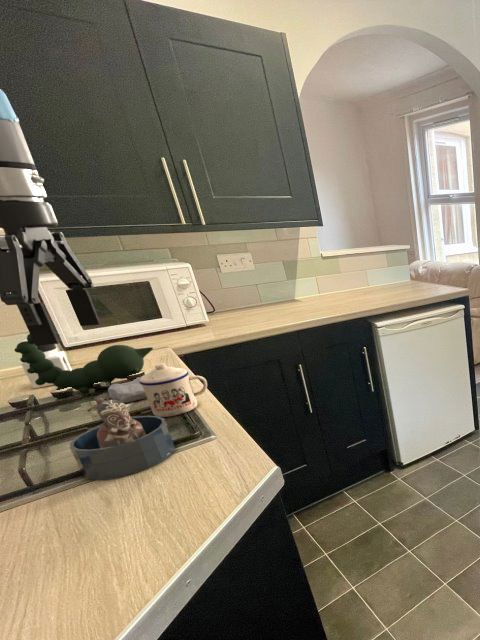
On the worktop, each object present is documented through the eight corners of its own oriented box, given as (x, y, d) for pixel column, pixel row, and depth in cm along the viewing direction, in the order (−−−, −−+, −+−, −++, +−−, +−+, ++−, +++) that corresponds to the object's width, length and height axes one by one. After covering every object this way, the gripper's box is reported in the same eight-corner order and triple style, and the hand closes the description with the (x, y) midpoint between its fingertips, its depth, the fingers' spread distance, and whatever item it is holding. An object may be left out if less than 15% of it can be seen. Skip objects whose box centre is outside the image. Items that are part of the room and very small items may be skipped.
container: (74, 375, 127) (55, 333, 122) (71, 381, 121) (51, 338, 116) (38, 381, 122) (17, 338, 117) (33, 389, 116) (10, 344, 112)
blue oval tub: (67, 487, 72) (52, 457, 70) (104, 450, 84) (92, 423, 82) (161, 469, 77) (150, 441, 75) (183, 436, 89) (174, 410, 86)
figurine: (114, 471, 76) (87, 412, 71) (99, 461, 79) (72, 403, 75) (160, 453, 81) (138, 397, 77) (145, 444, 85) (122, 390, 80)
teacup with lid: (152, 421, 95) (133, 374, 91) (152, 409, 102) (134, 364, 98) (214, 406, 102) (200, 361, 98) (210, 395, 109) (197, 353, 104)
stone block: (180, 395, 114) (161, 382, 118) (175, 380, 112) (156, 367, 116) (127, 413, 105) (108, 399, 109) (120, 397, 102) (102, 383, 106)
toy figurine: (46, 409, 107) (165, 378, 120) (1, 340, 99) (133, 314, 112) (55, 398, 114) (166, 369, 127) (13, 332, 106) (136, 309, 119)
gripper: (-10, 197, 55) (58, 351, 63) (86, 202, 77) (128, 316, 85) (-91, 197, 53) (-9, 357, 61) (32, 202, 74) (81, 320, 82)
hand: (71, 334), depth 73 cm, fingers open, 13 cm apart
